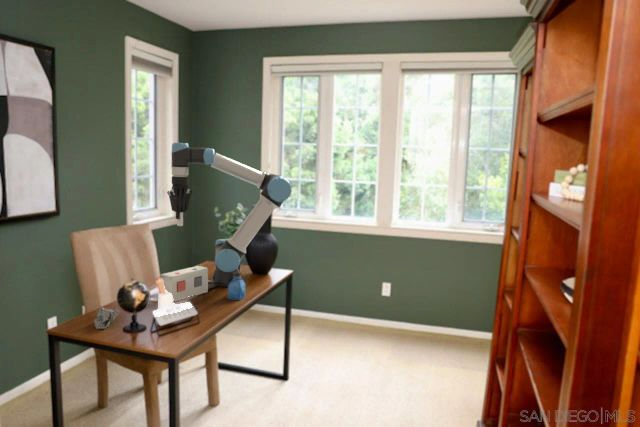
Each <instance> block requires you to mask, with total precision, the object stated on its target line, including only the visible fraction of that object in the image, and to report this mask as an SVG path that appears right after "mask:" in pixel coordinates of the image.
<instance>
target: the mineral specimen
mask: <svg viewBox="0 0 640 427" xmlns="http://www.w3.org/2000/svg"><path fill="white" fill-rule="evenodd" d="M120 312H121V311H120V310H119V309H113V308H105V307H100V308H98V312H97V314H96V316H97V318H95V319H94V320H93V323H94V325H93V327H95V330H103V329H104V330H105V329H107V328H109V326H110V324H111V322H113V321H114V320H115V319H116V317H117V316H118V315H119V314H120Z"/></svg>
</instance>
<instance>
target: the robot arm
mask: <svg viewBox="0 0 640 427" xmlns="http://www.w3.org/2000/svg"><path fill="white" fill-rule="evenodd" d="M170 153H171V175H172V176H171V184H172V186H171V190H168V191H167V192H166V193H167V195H168V198H169V202H170V207H171V211H173V212H175V219H176V226H178V227H183V226H184V219H185V213H186V212H187V211H188V210H189V206H190V201H191V195H192V193H193V190H191V189H189V186H188V185H189V165H191V164H197V165H206V166H209V167H211V168H213V169H215V170H218V171H220V172H223V173H225V174H227V175H229V176H233V177H234V178H237V179H239V180H242V181H244V182H246V183H249V184H251V185H253V186H256V188H257V189H259V190H260V191H261V192H260V193H259V196H260V198H259V199H258V201H257V203H256V204H255V205H254V206H253V208H252V209H251V211H250V212H249V213H248V215H247V216H246V217H245V219H244V220H243V222H242V223H241V224H240V226H239V227H238V228H237V229H236V230H235V233H234V234H233V236H231V237H229V238H220V239H219V238H218V239H217V240H215V245H214V246H215V257H214V263H215V265H214V266H215V267H214V272H213V273H212V276H211V283H213V284H212V285H216V287H217V286H218V287H228V286H229V284H230V282H231V281H232V280H233V279H234V278H233V275H234V273H235V272H240V270H239V266H240V264H241V261H242V259H243V258H244V257H245V255H246V254H247V247H248V246H249V244H250V243H251V241H252V240H253V239H254V237H255V236H256V235H257V234H258V232H259V231H260V230H261V228H262V227H263V225H264V224H265V222H266V221H267V220H268V218H269V217H270V216H271V214H272V213H273V212H274V210H275V209H279V208H280V207H281V206H282V204H283V203H284V202H286V201H287V200H288V199H289V198H290V196H291V195H292V185H291V182H290V181H289V180H288V179H287V178H286V177H284V176H282V175H278V174H274V173H271V172H267V171H260V170H258V169H256V168H253V167H251V166H248V165H247V164H243V163H241V162H240V161H237V160H234V159H232V158H230V157H227V156H225V155H222V154H220V153H219V152H216V151H215V149H214V148H209V147H190V146H189V143H188V142H173V143H172V145H171V152H170ZM240 279H242V277H241V278H240Z"/></svg>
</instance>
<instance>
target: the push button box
mask: <svg viewBox="0 0 640 427" xmlns="http://www.w3.org/2000/svg"><path fill="white" fill-rule="evenodd" d="M208 268H209V267H206V266H202V265H194V266H189V267H186V268H181V269H177V270H172V271H168V272H164V273H160V276H159V278H160V277H161V278H163V280H164V286H165V289H166V290H167V291H168V292H170V293H172V295H173V298H174V301H175V302H179V301H182V300H185V299H184V298H186V299H188V298H187V297H188V296H192V295H196V296H199V295H202V294H205V293H208V291H209V290H210V289H213V288H216V287H217V286H216V285H214V284H212V285H209V283H208V282H209V269H208ZM199 276H201V277H202V285H199V286H196V287H194V278H195V277H199ZM180 281H186V288H185V290H183V291H179V292H178V291H177V282H180ZM192 297H193V296H192ZM181 299H182V300H181ZM178 300H179V301H178ZM175 302H174V303H175Z"/></svg>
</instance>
